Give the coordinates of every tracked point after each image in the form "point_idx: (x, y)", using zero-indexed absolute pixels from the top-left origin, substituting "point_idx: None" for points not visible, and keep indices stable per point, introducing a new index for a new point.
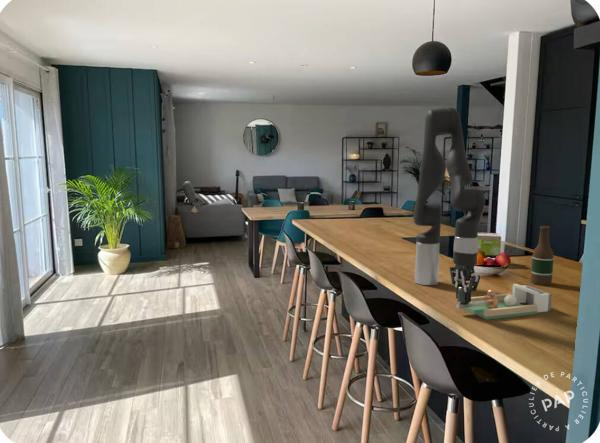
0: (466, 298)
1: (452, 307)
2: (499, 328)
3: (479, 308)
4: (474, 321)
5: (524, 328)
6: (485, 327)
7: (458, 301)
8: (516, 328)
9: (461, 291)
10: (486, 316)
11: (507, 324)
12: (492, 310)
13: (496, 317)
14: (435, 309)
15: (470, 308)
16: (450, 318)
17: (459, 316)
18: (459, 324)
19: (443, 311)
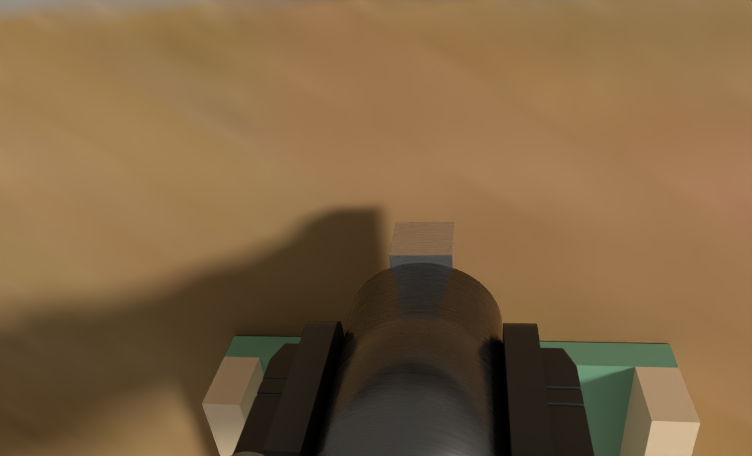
0: (283, 377)
1: (683, 259)
2: (24, 311)
3: None
4: (194, 224)
5: (49, 444)
6: (32, 225)
7: (415, 283)
8: (42, 407)
9: (345, 432)
10: (224, 361)
11: (123, 405)
12: (219, 450)
13: None
14: (723, 3)
15: None
16: (309, 21)
17: (362, 166)
18: (94, 18)
19: (593, 74)
